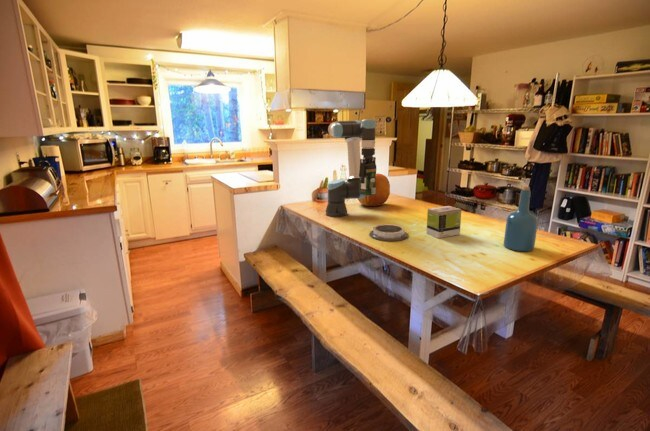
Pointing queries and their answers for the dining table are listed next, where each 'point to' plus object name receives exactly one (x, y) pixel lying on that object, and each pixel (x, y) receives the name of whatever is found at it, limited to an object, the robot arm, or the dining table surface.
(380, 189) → the pumpkin
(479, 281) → the dining table surface
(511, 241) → the wine bottle
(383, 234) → the ring collar
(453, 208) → the tea box
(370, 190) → the coffee jar
